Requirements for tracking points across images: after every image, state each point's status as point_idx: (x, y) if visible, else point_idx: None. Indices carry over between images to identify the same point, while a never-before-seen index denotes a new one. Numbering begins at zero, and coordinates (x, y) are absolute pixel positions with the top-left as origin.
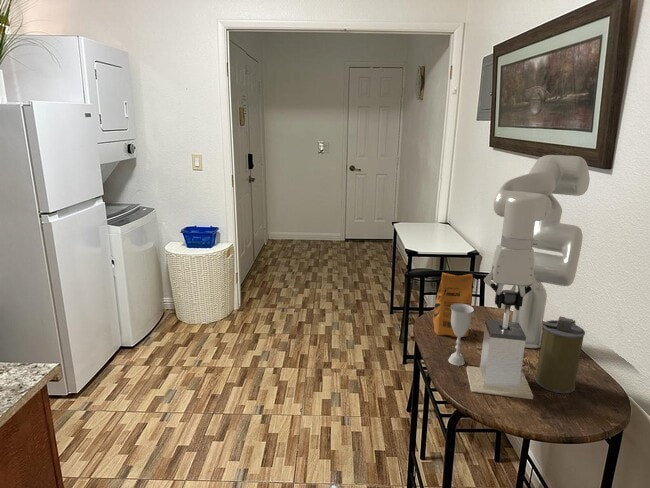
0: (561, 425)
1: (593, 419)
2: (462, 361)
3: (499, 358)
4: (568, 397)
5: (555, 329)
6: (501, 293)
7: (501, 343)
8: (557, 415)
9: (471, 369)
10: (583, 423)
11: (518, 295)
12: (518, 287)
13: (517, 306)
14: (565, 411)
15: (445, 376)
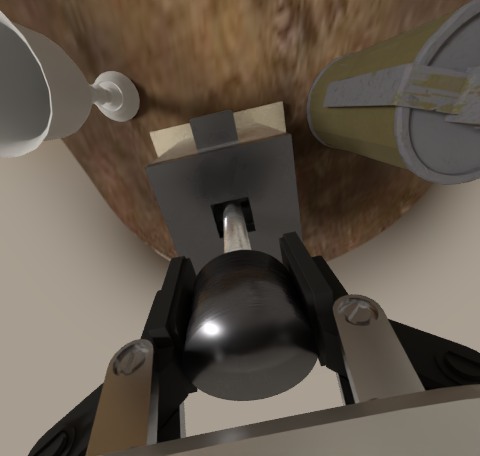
0: (324, 246)
1: (379, 210)
2: (132, 107)
3: None
4: (360, 155)
5: (441, 114)
6: (187, 385)
7: None
8: (324, 224)
9: (164, 146)
10: (359, 228)
11: (320, 350)
12: (349, 370)
13: None
14: (340, 207)
15: (120, 185)
